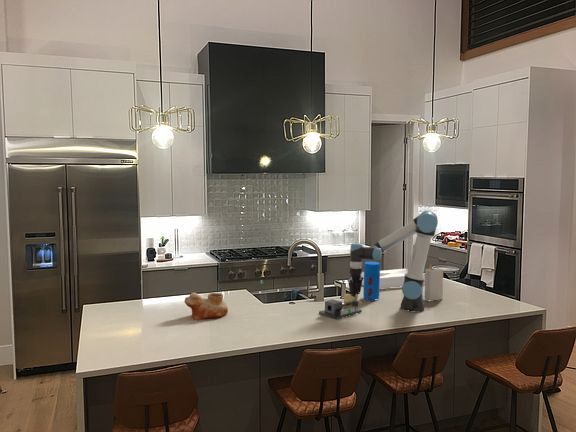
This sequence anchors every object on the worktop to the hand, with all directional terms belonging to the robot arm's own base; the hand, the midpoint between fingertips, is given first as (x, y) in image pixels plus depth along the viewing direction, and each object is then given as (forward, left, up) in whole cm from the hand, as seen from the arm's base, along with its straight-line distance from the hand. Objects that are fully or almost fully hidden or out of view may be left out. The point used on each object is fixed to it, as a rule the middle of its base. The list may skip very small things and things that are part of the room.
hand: (354, 303), depth 337 cm
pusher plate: (-2, +11, -2) cm, 11 cm away
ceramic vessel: (+47, +81, -4) cm, 94 cm away
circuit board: (0, +14, -4) cm, 14 cm away
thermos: (+10, -29, -4) cm, 31 cm away
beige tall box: (-19, -61, -4) cm, 64 cm away
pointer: (-7, +7, -1) cm, 10 cm away
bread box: (+27, -75, -4) cm, 80 cm away
